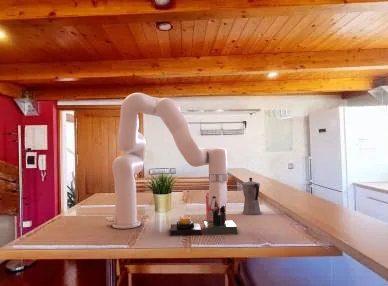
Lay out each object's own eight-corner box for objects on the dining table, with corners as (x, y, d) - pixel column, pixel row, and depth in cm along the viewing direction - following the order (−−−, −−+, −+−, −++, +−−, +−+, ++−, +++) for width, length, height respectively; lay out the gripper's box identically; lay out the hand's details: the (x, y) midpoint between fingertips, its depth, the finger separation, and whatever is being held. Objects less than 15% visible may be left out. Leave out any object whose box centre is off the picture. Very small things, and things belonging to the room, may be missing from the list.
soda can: (221, 222, 145) (220, 193, 145) (205, 222, 146) (204, 193, 146) (222, 218, 151) (221, 191, 152) (207, 218, 153) (206, 191, 153)
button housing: (170, 236, 125) (170, 225, 125) (170, 229, 135) (170, 219, 135) (201, 235, 125) (200, 224, 125) (199, 228, 135) (199, 219, 135)
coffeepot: (238, 211, 169) (237, 176, 169) (255, 210, 170) (254, 176, 170) (249, 217, 153) (248, 179, 154) (268, 216, 155) (267, 178, 155)
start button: (180, 224, 128) (180, 219, 128) (180, 222, 132) (180, 217, 132) (190, 224, 128) (190, 219, 128) (189, 221, 132) (189, 216, 132)
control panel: (206, 235, 125) (206, 226, 125) (204, 228, 135) (203, 221, 135) (237, 234, 125) (236, 226, 125) (232, 227, 135) (232, 220, 135)
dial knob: (222, 225, 127) (222, 214, 127) (212, 224, 129) (212, 213, 129) (226, 223, 131) (226, 212, 131) (216, 222, 133) (216, 211, 133)
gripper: (217, 176, 139) (218, 218, 139) (201, 180, 124) (202, 227, 124) (233, 176, 136) (235, 219, 135) (219, 180, 121) (220, 229, 121)
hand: (219, 222), depth 130 cm, fingers closed on dial knob, 4 cm apart
